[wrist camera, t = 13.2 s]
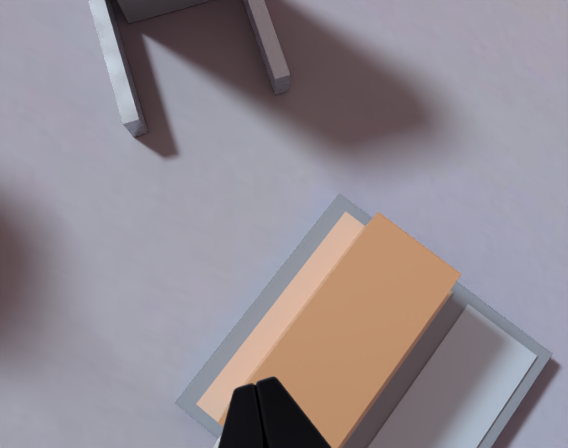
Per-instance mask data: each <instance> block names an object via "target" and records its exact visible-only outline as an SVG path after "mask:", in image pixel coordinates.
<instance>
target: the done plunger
mask: <svg viewBox="0 0 568 448" xmlns="http://www.w3.org/2000/svg"><path fill="white" fill-rule="evenodd" d="M117 1H118V3H119V5H120V7H121V9H122V11H123V13H124V15H125V17H126V19H127V21H128V23H129V24H130V23H133V22H137V21H141V20H144V19H148V18H151V17H155V16H158V15H162V14H166V13H169V12H173V11H176V10H180V9H183V8H187V7H191V6H194V5H198V4H201V3H205V2H208V1H212V0H117Z"/></svg>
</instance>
